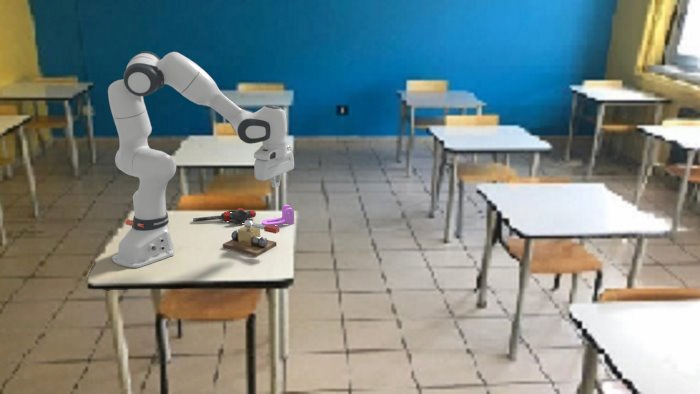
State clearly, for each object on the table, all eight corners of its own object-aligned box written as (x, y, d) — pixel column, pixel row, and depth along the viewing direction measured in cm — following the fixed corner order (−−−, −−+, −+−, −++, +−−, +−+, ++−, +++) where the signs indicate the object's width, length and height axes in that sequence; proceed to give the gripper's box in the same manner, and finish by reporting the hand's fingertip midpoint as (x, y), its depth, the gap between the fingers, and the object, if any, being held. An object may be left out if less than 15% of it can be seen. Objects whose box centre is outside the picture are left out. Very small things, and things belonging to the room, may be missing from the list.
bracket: (290, 219, 257) (290, 204, 255) (294, 224, 252) (293, 208, 250) (260, 223, 253) (259, 207, 250) (263, 227, 248) (262, 211, 245)
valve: (256, 216, 266) (256, 223, 251) (196, 222, 262) (192, 230, 248) (255, 202, 265) (255, 208, 250) (194, 207, 261) (191, 214, 246)
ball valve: (260, 250, 223) (260, 233, 221) (229, 242, 230) (228, 225, 228) (270, 245, 227) (269, 228, 225) (239, 237, 234) (238, 221, 232)
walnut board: (256, 257, 220) (256, 253, 220) (222, 247, 228) (222, 244, 227) (276, 245, 230) (276, 242, 230) (243, 237, 238) (243, 233, 237)
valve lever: (243, 226, 226) (243, 221, 225) (248, 224, 228) (247, 219, 227) (275, 234, 219) (275, 228, 219) (279, 231, 222) (279, 226, 221)
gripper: (284, 143, 229) (284, 178, 233) (250, 154, 212) (252, 192, 216) (298, 145, 226) (298, 181, 231) (265, 157, 209) (266, 195, 213)
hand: (275, 186), depth 223 cm, fingers closed
